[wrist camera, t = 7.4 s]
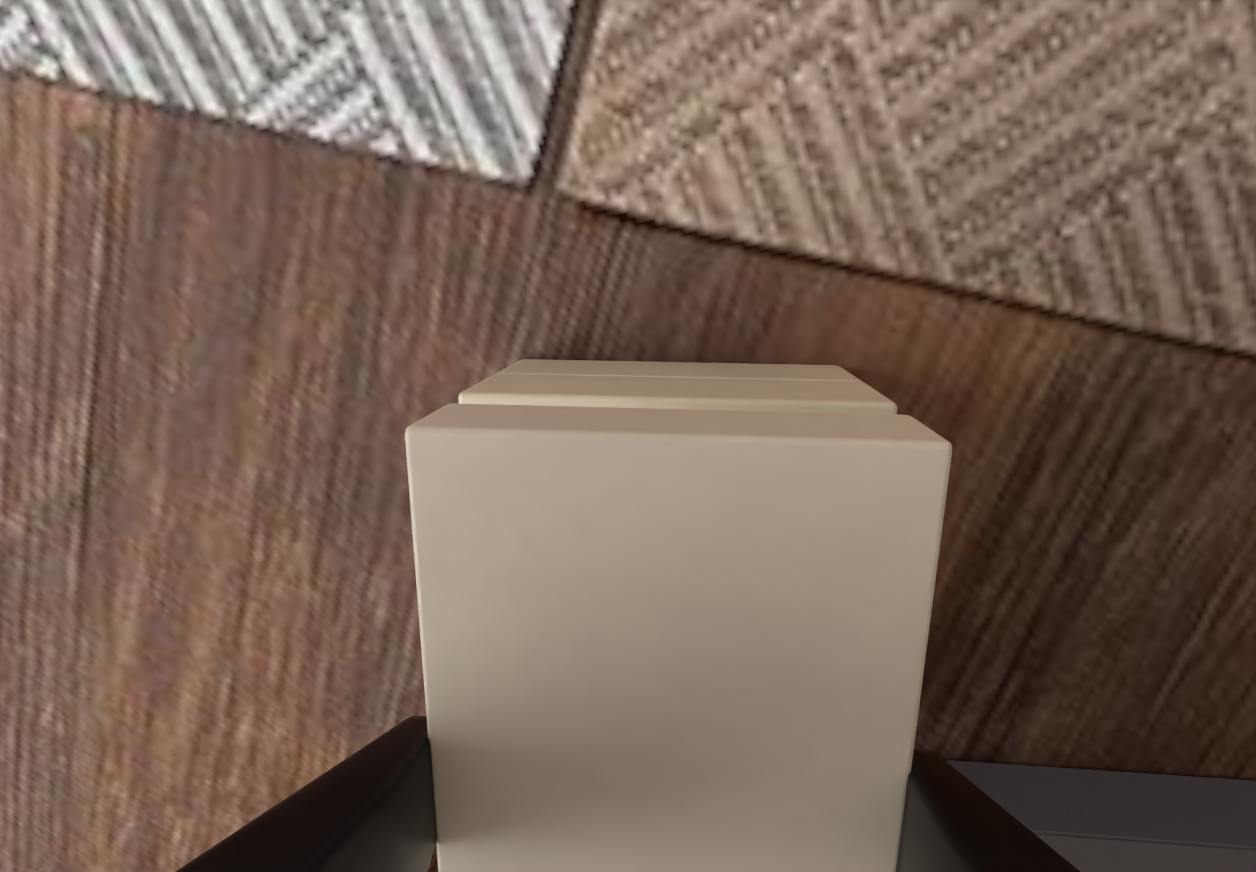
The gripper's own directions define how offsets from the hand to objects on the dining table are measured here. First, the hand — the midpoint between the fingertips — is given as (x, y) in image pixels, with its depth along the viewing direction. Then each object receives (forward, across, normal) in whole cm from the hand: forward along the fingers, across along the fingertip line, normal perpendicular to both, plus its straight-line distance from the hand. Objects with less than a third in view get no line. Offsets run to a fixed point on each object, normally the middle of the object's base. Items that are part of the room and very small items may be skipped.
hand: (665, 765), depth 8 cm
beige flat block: (+1, 0, 0) cm, 1 cm away
